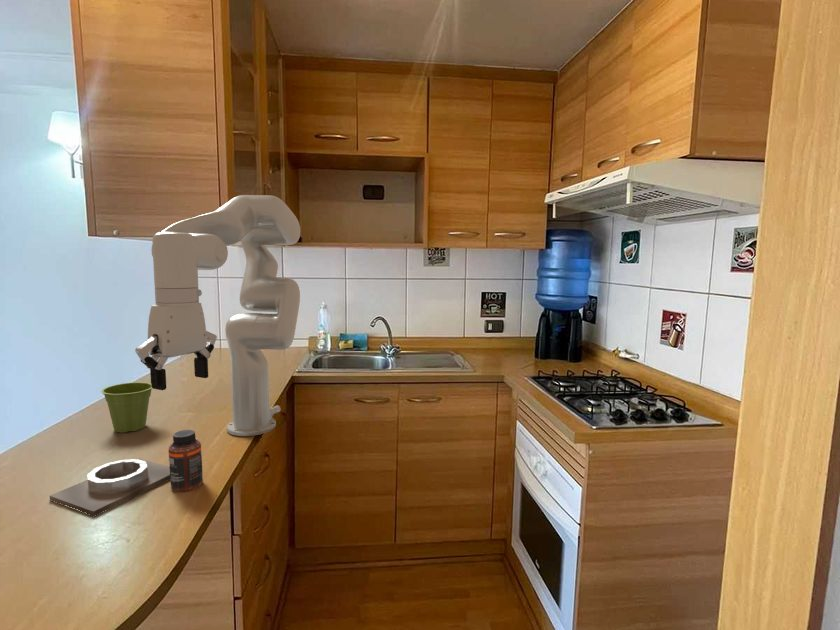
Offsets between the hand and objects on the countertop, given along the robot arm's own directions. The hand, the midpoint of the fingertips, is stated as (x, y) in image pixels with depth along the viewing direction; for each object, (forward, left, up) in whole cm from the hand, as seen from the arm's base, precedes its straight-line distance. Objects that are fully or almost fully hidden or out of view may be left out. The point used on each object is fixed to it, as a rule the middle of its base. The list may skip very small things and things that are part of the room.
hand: (181, 382), depth 92 cm
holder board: (+6, -12, -22) cm, 25 cm away
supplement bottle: (0, 0, -22) cm, 22 cm away
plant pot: (-16, -40, -22) cm, 48 cm away
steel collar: (+6, -12, -22) cm, 25 cm away
